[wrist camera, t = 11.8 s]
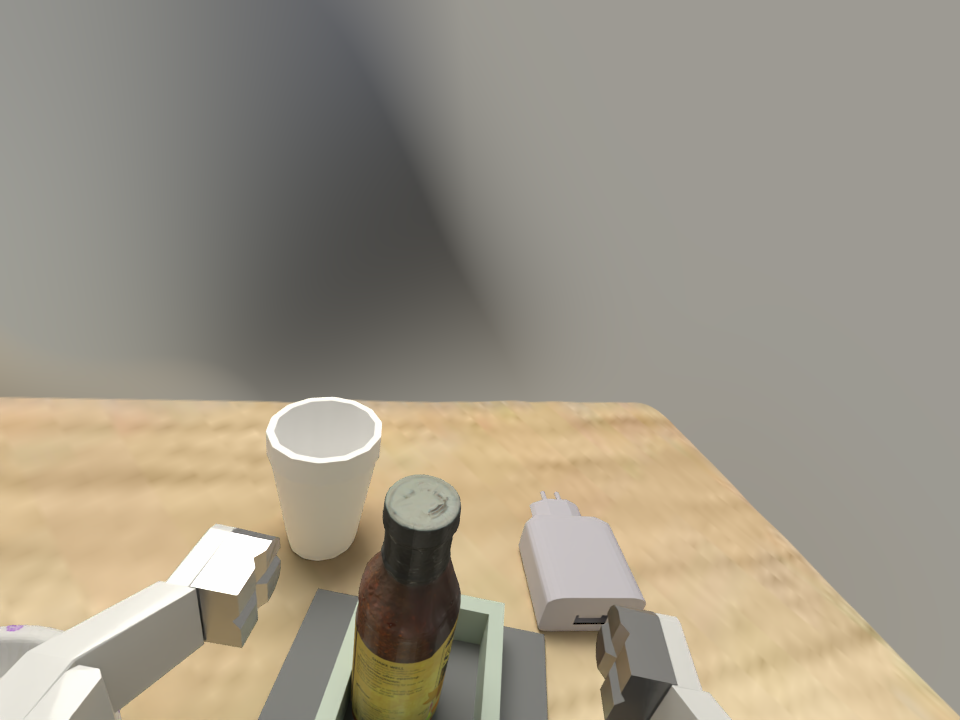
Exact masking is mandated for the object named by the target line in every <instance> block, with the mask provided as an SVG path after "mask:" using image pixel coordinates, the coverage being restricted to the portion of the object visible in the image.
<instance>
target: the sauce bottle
mask: <svg viewBox="0 0 960 720" xmlns="http://www.w3.org/2000/svg"><path fill="white" fill-rule="evenodd" d="M460 512H461V502H460V497H459V495H458V493H457V491H456V490H455V489H454V488H453V487H452V486H451V485H450V484H448V483H447V482H445V481H444V480H442V479H439V478H436V477H433V476H429V475H412V476H408V477H405V478H403V479H401V480H399V481H397V482H396V483H395V484H394V485H393V486H391V487H390V488H389V491H388V492H387V494H386V497H385V502H384V510H383V524H384V528H385V537H384V542H383V546H382V548H381V551H380V552H379V553H377V554H376V555H375V556H374V557H373V558H372V559H371V560H370V561H369V562H368V563H367V566H366V568H365V571H364V573H363V575H362V579H361V583H360V587H359V597H358V606H357V610H356V616H355V632H354V648H353V663H352V682H351V701H352V715H353V718H354V720H431V719H432V716H433V715H434V713H435V711H436V708H437V706H438V702H439V698H440V694H441V690H442V685H443V681H444V676H445V672H446V668H447V663H448V660H449V654H450V652H451V647H452V643H453V637H454V633H455V630H456V625H457V620H458V616H459V611H460V604H461V592H460V587H459V583H458V580H457V577H456V574H455V571H454V568H453V564H452V561H451V557H450V555H451V553H450V548H451V543H452V537H453V534H454V533H455V532H456V531H457V528H458V526H459V522H460Z"/></svg>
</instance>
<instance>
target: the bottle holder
mask: <svg viewBox="0 0 960 720" xmlns="http://www.w3.org/2000/svg"><path fill="white" fill-rule="evenodd" d="M504 605H505V603H500V602H495V601H490V600H485V599H480V598H475V597H470V596H465V595H461V604H460V611H459V616H458V620H457V625H456V630H455V633H454V637H453V639H454V640H459V641H464V642H469V643H474V644H479V645H480V650H479V662H478V673H477V684H476V695H475V707H474V718H473V720H499V719H500V696H501V673H502V651H503V628H504ZM357 606H358V602H357V605H356V607H355V610H354V613H353V616H352V618H351V621H350V624H349V627H348V629H347V632H346V635H345V638H344V641H343V643H342V646H341V649H340V652H339V654H338V657H337V660H336V663H335V665H334V668H333V671H332V674H331V677H330V679H329V682H328V685H327V688H326V690H325V693H324V696H323V699H322V701H321V704H320V707H319V710H318V712H317V715H316V718H315V720H343V719H344V716H345V712H346V709H347V706H348V703H349V700H350V696H351V682H352V663H353V648H354V632H355V616H356V610H357Z"/></svg>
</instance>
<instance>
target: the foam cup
mask: <svg viewBox="0 0 960 720" xmlns="http://www.w3.org/2000/svg"><path fill="white" fill-rule="evenodd" d="M381 427H382V422H381V421H380V419H379V418H378V417H377V415H376V414H375V413H374V411H373V410H372V409H370V408H368V407H366V406H364V405H362V404H360V403H358V402H356V401H352V400H347V399H342V398H336V397H323V398H309V399H305V400H302V401H299V402H296V403H293V404H289V405H287V406H286V407H284V408H283V409H282V410H280V411H279V412H278V413H276V414H275V415H274V416H272V418H271V420H270V423H269V425H268V428H267V430H266V448H267V456H268V458H269V461H270V463H271V466H272V469H273V473H274V478H275V482H276V487H277V492H278V496H279V501H280V506H281V510H282V515H283V519H284V524H285V529H286V533H287V537H288V541H289V543H290V546H291V549H292V551H294V552H295V553H296V554H298V555H299V556H300V557H302V558H304V559H309V560H315V561H321V560H326V559H331V558H335V557H336V556H338V555H340V554H341V553H343V552H345V551H346V550H347V549H348V548H349V547H350V545H351V544H352V542H353V541H354V539H355V535H356V533H357V529H358V525H359V522H360V518H361V514H362V511H363V507H364V503H365V499H366V496H367V492H368V488H369V484H370V481H371V477H372V473H373V469H374V466H375V462H376V461H377V460H378V458H379V452H380V442H381Z"/></svg>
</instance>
